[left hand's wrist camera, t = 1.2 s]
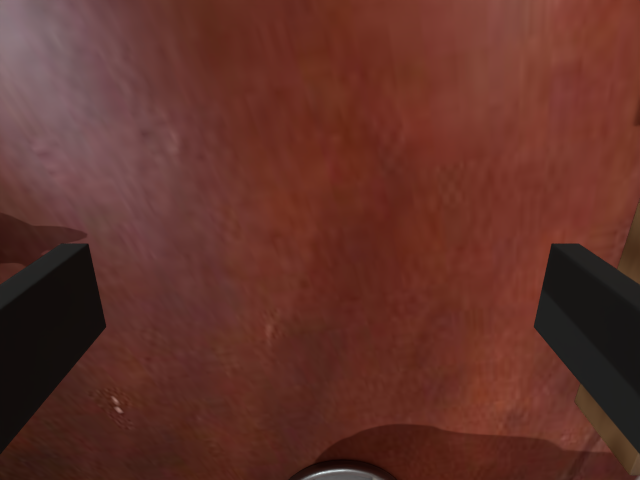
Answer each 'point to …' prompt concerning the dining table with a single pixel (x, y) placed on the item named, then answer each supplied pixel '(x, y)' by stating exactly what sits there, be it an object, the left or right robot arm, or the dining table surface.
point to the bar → (635, 264)
